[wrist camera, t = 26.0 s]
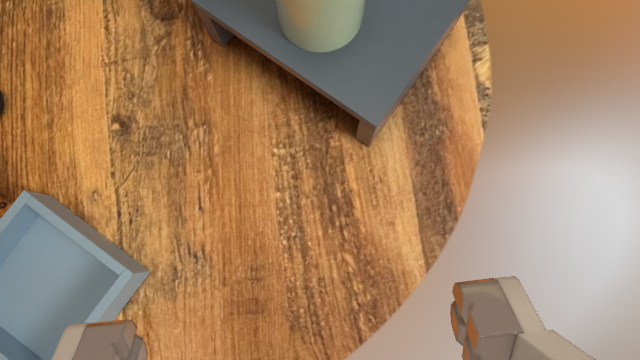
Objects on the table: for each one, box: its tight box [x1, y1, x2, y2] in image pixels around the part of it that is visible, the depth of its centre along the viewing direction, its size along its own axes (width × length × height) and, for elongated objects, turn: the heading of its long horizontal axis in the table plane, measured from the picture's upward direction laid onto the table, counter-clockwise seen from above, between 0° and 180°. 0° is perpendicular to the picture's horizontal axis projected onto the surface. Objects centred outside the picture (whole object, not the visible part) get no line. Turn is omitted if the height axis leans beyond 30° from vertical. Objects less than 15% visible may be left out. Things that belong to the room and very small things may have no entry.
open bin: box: [0, 190, 150, 360], centre depth 39 cm, size 12×12×4 cm
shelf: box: [191, 0, 469, 147], centre depth 41 cm, size 18×14×7 cm
